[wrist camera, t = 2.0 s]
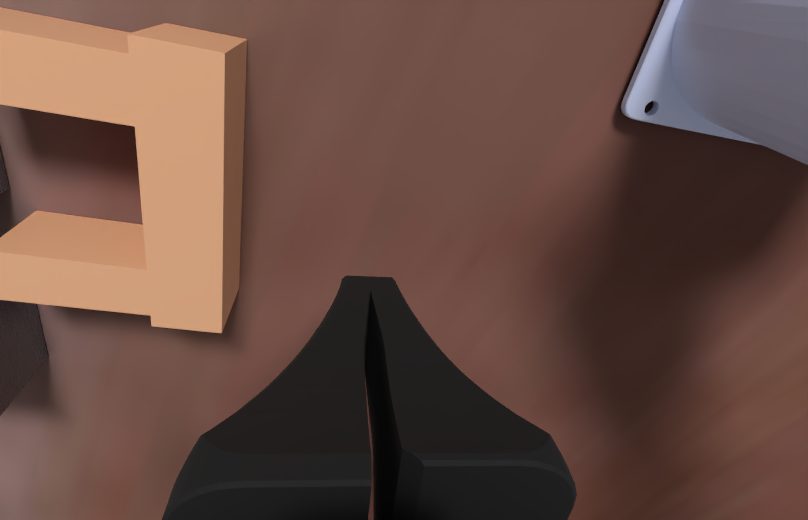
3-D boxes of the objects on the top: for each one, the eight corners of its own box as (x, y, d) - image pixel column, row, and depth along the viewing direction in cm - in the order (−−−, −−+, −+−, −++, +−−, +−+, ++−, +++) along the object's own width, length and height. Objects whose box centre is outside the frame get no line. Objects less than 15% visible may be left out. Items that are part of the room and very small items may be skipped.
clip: (247, 39, 16) (224, 53, 13) (239, 288, 21) (221, 333, 18) (-10, -13, 14) (-89, -9, 12) (47, 265, 19) (0, 310, 17)
